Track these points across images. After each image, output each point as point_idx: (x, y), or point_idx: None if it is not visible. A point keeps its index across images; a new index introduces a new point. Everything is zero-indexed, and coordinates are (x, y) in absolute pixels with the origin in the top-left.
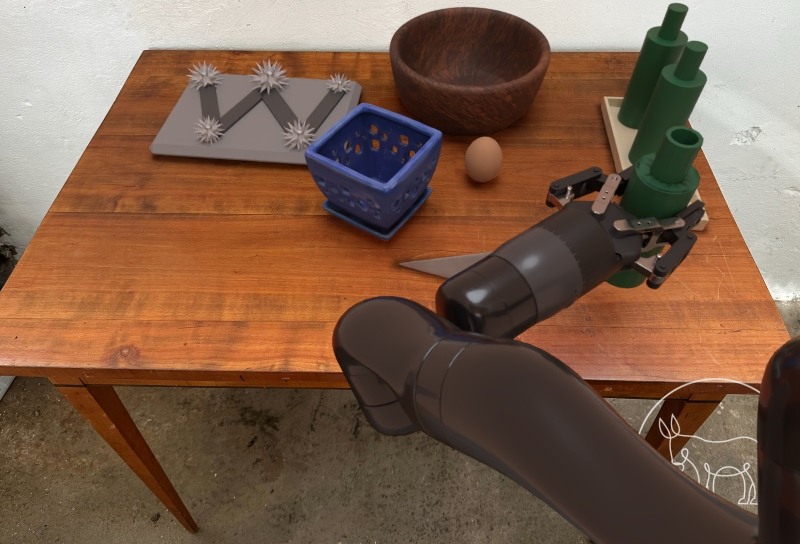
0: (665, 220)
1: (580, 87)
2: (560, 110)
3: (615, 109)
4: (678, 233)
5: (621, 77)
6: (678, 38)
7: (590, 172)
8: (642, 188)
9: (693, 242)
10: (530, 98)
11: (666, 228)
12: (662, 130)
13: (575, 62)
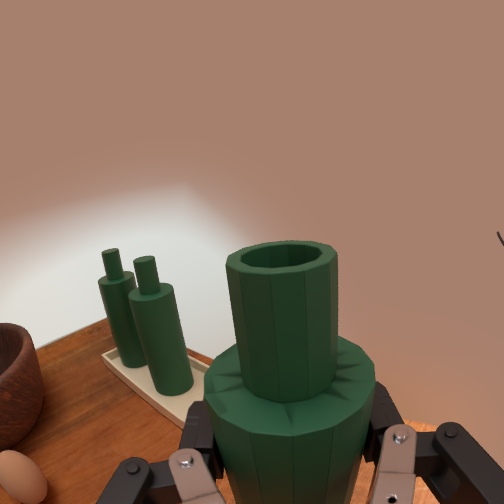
0: (386, 457)
1: (80, 358)
2: (74, 384)
3: (117, 360)
4: (421, 450)
5: (107, 336)
6: (125, 275)
7: (124, 483)
8: (290, 449)
9: (467, 434)
10: (33, 386)
11: (412, 467)
12: (168, 349)
13: (68, 343)
